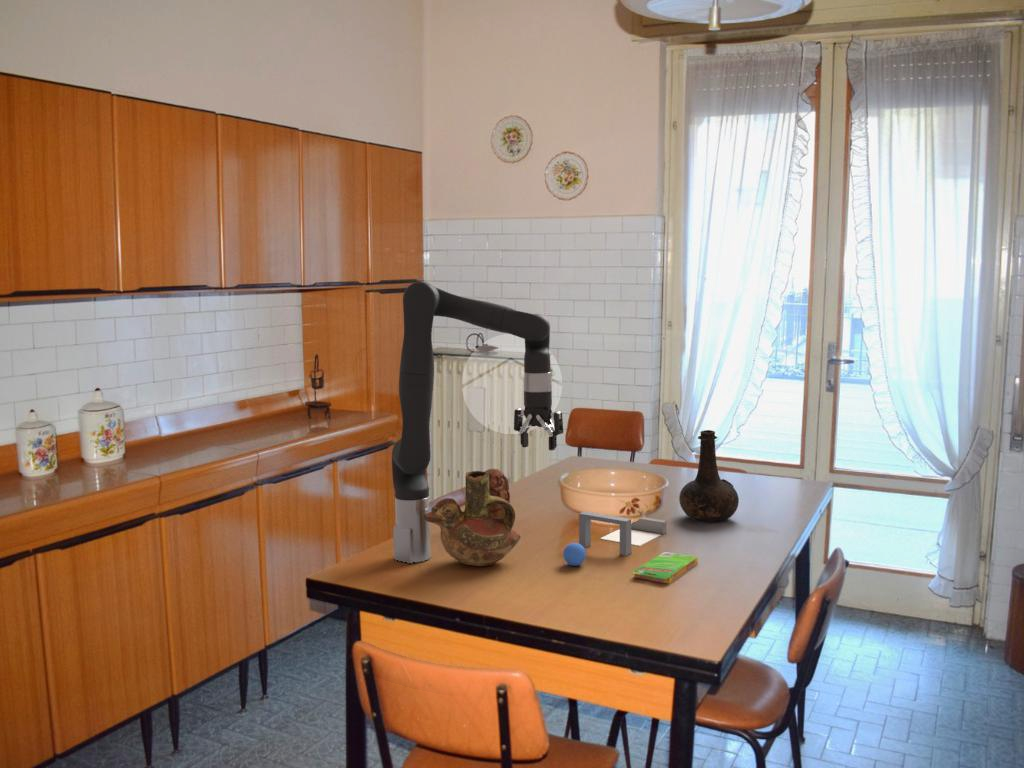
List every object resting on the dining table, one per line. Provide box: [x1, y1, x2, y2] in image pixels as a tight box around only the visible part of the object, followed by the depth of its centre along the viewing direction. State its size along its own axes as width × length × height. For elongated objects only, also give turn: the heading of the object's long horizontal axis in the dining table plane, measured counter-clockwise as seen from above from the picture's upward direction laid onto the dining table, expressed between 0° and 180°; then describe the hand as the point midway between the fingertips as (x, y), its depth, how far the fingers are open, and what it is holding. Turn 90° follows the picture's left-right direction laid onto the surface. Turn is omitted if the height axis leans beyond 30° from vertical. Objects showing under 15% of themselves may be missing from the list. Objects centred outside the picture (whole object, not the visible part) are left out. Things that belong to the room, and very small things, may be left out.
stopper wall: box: [631, 516, 667, 535], centre depth 278 cm, size 2×13×4 cm, turn 54°
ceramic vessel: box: [424, 470, 521, 567], centre depth 246 cm, size 17×26×25 cm, turn 105°
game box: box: [632, 551, 699, 584], centre depth 240 cm, size 3×10×20 cm
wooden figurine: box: [484, 468, 511, 518], centre depth 282 cm, size 12×6×18 cm, turn 143°
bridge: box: [578, 510, 632, 557], centre depth 258 cm, size 3×15×10 cm, turn 54°
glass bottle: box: [678, 429, 739, 524], centre depth 287 cm, size 18×18×28 cm
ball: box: [562, 542, 587, 567], centre depth 245 cm, size 6×6×6 cm
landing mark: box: [599, 528, 662, 547], centre depth 271 cm, size 13×13×1 cm
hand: (538, 448), depth 250 cm, fingers open, 8 cm apart
